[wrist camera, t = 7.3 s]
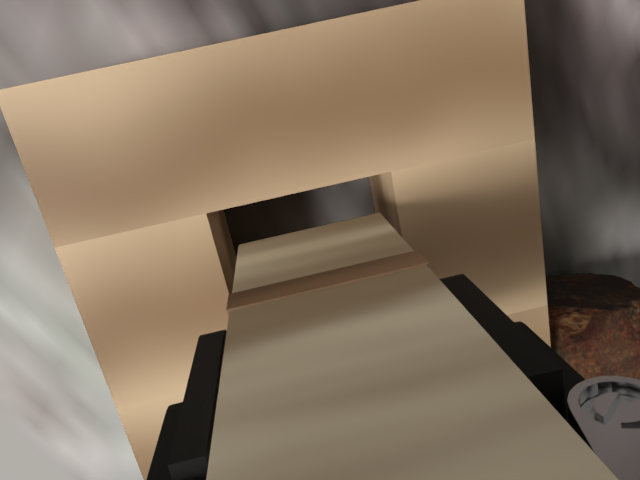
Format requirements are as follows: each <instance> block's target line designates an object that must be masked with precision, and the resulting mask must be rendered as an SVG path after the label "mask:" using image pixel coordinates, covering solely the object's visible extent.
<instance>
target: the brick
mask: <svg viewBox="0 0 640 480" xmlns="http://www.w3.org/2000/svg"><path fill="white" fill-rule="evenodd" d="M545 278H546V291H547V304H548V317H549V330H550V343H551V348H552V349H553V350H554V351H555V352H556V353H557V354H558V355H559V356H560V357H562V358H563V359H564V360H565V361H566V362H567V363H568V364H569V365H570V366H571V367H572V368H573V369H574V370H576V371H577V372H578V373H579V374H580V375H581V376H582V377H583V378H584V379H585V380H586V379H590V378H595V377H599V376H622V377H629V378H634V379H638V380H640V288H639V287H636V286H635V285H633V283H632V282H630V281H628V280H625V279H623V278H620V277H617V276H613V275H602V274H592V273H588V274H570V275H559V276H548V277H545Z"/></svg>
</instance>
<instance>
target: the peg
mask: <svg viewBox="0 0 640 480" xmlns="http://www.w3.org/2000/svg"><path fill="white" fill-rule="evenodd" d="M226 311H227V314H228V325H227V333H226V340H225V347H224V354H223V362H222V369H221V376H220V383H219V390H218V398H217V405H216V412H215V419H214V427H213V434H212V441H211V448H210V456H209V463H208V470H207V477H206V480H618V479H617V478H616V476H615V475H614V474H613V473H612V472H611V471H610V470H609V469H608V467H607V466H606V465H605V464H604V463H603V462H602V461H601V460H600V459H599V457H598V456H597V455H596V454H595V453H594V452H593V451H592V450H591V448H590V447H589V446H588V445H587V444H586V443H585V442H584V441H583V439H582V438H581V437H580V436H579V435H578V434H577V433H576V432H575V431H574V429H573V428H572V427H571V426H570V425H569V424H568V423H567V422H566V420H565V419H564V418H563V417H562V416H561V415H560V414H559V413H558V412H557V410H556V409H555V408H554V407H553V406H552V405H551V404H550V403H549V401H548V400H547V399H546V398H545V397H544V396H543V395H542V394H541V392H540V391H539V390H538V389H537V388H536V387H535V386H534V385H533V384H532V382H531V381H530V380H529V379H528V378H527V377H526V376H525V375H524V373H523V372H522V371H521V370H520V369H519V368H518V367H517V366H516V364H515V363H514V362H513V361H512V360H511V359H510V358H509V357H508V356H507V354H506V353H505V352H504V351H503V350H502V349H501V348H500V347H499V345H498V344H497V343H496V342H495V341H494V340H493V339H492V338H491V336H490V335H489V334H488V333H487V332H486V331H485V330H484V329H483V328H482V326H481V325H480V324H479V323H478V322H477V321H476V320H475V319H474V317H473V316H472V315H471V314H470V313H469V312H468V311H467V310H466V308H465V307H464V306H463V305H462V304H461V303H460V302H459V301H458V300H457V298H456V297H455V296H454V295H453V294H452V293H451V292H450V291H449V289H448V288H447V287H446V286H445V285H444V284H443V283H442V282H441V281H440V279H439V278H438V277H437V276H436V275H435V274H434V273H433V272H432V270H431V269H430V266H429V262H428V261H427V260H426V259H425V258H424V256H423V255H422V254H421V253H420V252H419V251H418V250H415V251H414V250H413V249H412V248H411V247H410V246H409V245H408V244H407V242H406V241H405V240H404V239H403V238H402V237H401V236H400V235H399V233H398V232H397V231H396V230H395V229H394V228H393V227H392V226H391V225H390V223H389V222H388V221H387V220H386V219H385V218H384V217H383V216H382V214H381V213H380V212H379V213H375V214H371V215H366V216H362V217H357V218H353V219H349V220H344V221H340V222H336V223H331V224H327V225H323V226H318V227H314V228H309V229H305V230H301V231H296V232H292V233H288V234H283V235H279V236H275V237H270V238H266V239H262V240H257V241H253V242H248V243H244V244H240V245H239V246H238V253H237V260H236V268H235V275H234V282H233V289H232V293H231V294H229V295H228V302H227V308H226Z"/></svg>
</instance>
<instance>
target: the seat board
mask: <svg viewBox="0 0 640 480" xmlns="http://www.w3.org/2000/svg"><path fill="white" fill-rule="evenodd" d="M0 107H1V109H2V112H3V115H4V117H5V120H6V122H7V125H8V128H9V130H10V133H11V135H12V138H13V141H14V143H15V146H16V148H17V151H18V154H19V156H20V159H21V161H22V164H23V167H24V169H25V172H26V174H27V177H28V180H29V182H30V185H31V187H32V190H33V193H34V195H35V198H36V200H37V203H38V206H39V208H40V211H41V213H42V216H43V219H44V221H45V224H46V226H47V229H48V232H49V234H50V237H51V239H52V242H53V245H54V247H55V250H56V252H57V255H58V258H59V260H60V263H61V265H62V268H63V271H64V273H65V276H66V278H67V281H68V284H69V286H70V289H71V291H72V294H73V297H74V299H75V302H76V304H77V307H78V310H79V312H80V315H81V317H82V320H83V323H84V325H85V328H86V330H87V333H88V336H89V338H90V341H91V343H92V346H93V349H94V351H95V354H96V356H97V359H98V362H99V364H100V367H101V369H102V372H103V375H104V377H105V380H106V382H107V385H108V388H109V390H110V393H111V395H112V398H113V401H114V403H115V406H116V408H117V411H118V414H119V416H120V419H121V421H122V424H123V427H124V429H125V432H126V434H127V437H128V440H129V442H130V445H131V447H132V450H133V453H134V455H135V458H136V460H137V463H138V466H139V468H140V471H141V473H142V476H143V479H144V480H146V479H147V476H148V472H149V469H150V465H151V462H152V459H153V455H154V452H155V448H156V445H157V441H158V438H159V434H160V431H161V427H162V424H163V420H164V417H165V414H166V410H167V408H168V406H170V405H172V404H176V403H180V402H183V399H184V395H185V391H186V387H187V383H188V379H189V375H190V371H191V366H192V362H193V358H194V354H195V350H196V346H197V342H198V338H199V336H200V335H204V334H208V333H212V332H216V331H221V330H226V331H227V325H228V314H227V311H226V308H227V302H228V295H229V294H231V293H232V289H233V282H234V275H235V268H236V260H237V257H236V254H235V250H234V246H233V243H232V239H231V235H230V232H229V228H228V224H227V220H226V217H225V213H224V209H228V208H232V207H237V206H241V205H246V204H250V203H254V202H259V201H263V200H268V199H272V198H277V197H281V196H285V195H290V194H294V193H299V192H303V191H307V190H312V189H316V188H321V187H325V186H330V185H334V184H338V183H343V182H347V181H352V180H356V179H360V178H365V177H369V178H370V184H371V189H372V195H373V201H374V206H375V212H376V213H379V212H380V213H381V214H382V216H383V217H384V218H385V219H386V220H387V221H388V222H389V223H390V225H391V226H392V227H393V228H394V229H395V230H396V231H397V232H398V233H399V235H400V236H401V237H402V238H403V239H404V240H405V241H406V242H407V244H408V245H409V246H410V247H411V248H412V249H413V250H414V251H415V250H418V251H419V252H420V253H421V254H422V255H423V256H424V258H425V259H426V260H427V261H428V262H429V266H430V269H431V270H432V272H433V273H434V274H435V275H436V276H437V277H438V278H439V279H442V278H446V277H450V276H454V275H459V274H464V275H465V276H466V277H467V278H469V279H470V280H471V281H472V282H473V283H474V284H475V285H476V286H477V287H478V288H479V289H480V290H481V291H482V292H483V293H484V294H485V295H486V296H487V297H488V298H489V299H490V300H491V301H493V302H494V303H495V304H496V305H497V306H498V307H499V308H500V309H501V310H502V311H503V312H504V313H505V314H506V315H507V316H508V317H509V318H510V319H511V320H512V321H513V322H519V321H521V322H523V323H524V324H526V325H527V326H528V327H529V328H530V329H531V330H532V331H533V332H535V333H536V334H537V335H538V336H539V337H540V338H541V339H542V340H543V341H544V342H545V343H546V344H547V345H549V346H550V347H551V343H550V330H549V317H548V304H547V291H546V278H545V265H544V252H543V239H542V226H541V213H540V200H539V187H538V174H537V161H536V148H535V135H534V122H533V109H532V96H531V83H530V70H529V57H528V44H527V31H526V18H525V5H524V0H419V1H415V2H410V3H405V4H401V5H396V6H391V7H386V8H382V9H377V10H372V11H368V12H363V13H358V14H354V15H349V16H344V17H340V18H335V19H330V20H325V21H321V22H316V23H311V24H307V25H302V26H297V27H293V28H288V29H283V30H279V31H274V32H269V33H264V34H260V35H255V36H250V37H246V38H241V39H236V40H232V41H227V42H222V43H217V44H213V45H208V46H203V47H199V48H194V49H189V50H185V51H180V52H175V53H171V54H166V55H161V56H156V57H152V58H147V59H142V60H138V61H133V62H128V63H124V64H119V65H114V66H110V67H105V68H100V69H95V70H91V71H86V72H81V73H77V74H72V75H67V76H63V77H58V78H53V79H48V80H44V81H39V82H34V83H30V84H25V85H20V86H16V87H11V88H6V89H2V90H0Z"/></svg>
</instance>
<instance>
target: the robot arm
mask: <svg viewBox="0 0 640 480" xmlns="http://www.w3.org/2000/svg"><path fill="white" fill-rule="evenodd" d="M440 281H441V282H442V283H443V284H444V285H445V286H446V287H447V288H448V289H449V291H450V292H451V293H452V294H453V295H454V296H455V297H456V298H457V300H458V301H459V302H460V303H461V304H462V305H463V306H464V307H465V308H466V310H467V311H468V312H469V313H470V314H471V315H472V316H473V317H474V319H475V320H476V321H477V322H478V323H479V324H480V325H481V326H482V328H483V329H484V330H485V331H486V332H487V333H488V334H489V335H490V336H491V338H492V339H493V340H494V341H495V342H496V343H497V344H498V345H499V347H500V348H501V349H502V350H503V351H504V352H505V353H506V354H507V356H508V357H509V358H510V359H511V360H512V361H513V362H514V363H515V364H516V366H517V367H518V368H519V369H520V370H521V371H522V372H523V373H524V375H525V376H526V377H527V378H528V379H529V380H530V381H531V382H532V384H533V385H534V386H535V387H536V388H537V389H538V390H539V391H540V392H541V394H542V395H543V396H544V397H545V398H546V399H547V400H548V401H549V403H550V404H551V405H552V406H553V407H554V408H555V409H556V410H557V412H558V413H559V414H560V415H561V416H562V417H563V418H564V419H565V420H566V422H567V423H568V424H569V425H570V426H571V427H572V428H573V429H574V431H575V432H576V433H577V434H578V435H579V436H580V437H581V438H582V439H583V441H584V442H585V443H586V444H587V445H588V446H589V447H590V448H591V450H592V451H593V452H594V453H595V454H596V455H597V456H598V457H599V459H600V460H601V461H602V462H603V463H604V464H605V465H606V466H607V467H608V469H609V470H610V471H611V472H612V473H613V474H614V475H615V476H616V478H617V479H618V480H640V380H638V379H634V378H629V377H622V376H599V377H595V378H590V379H586V380H585V379H584V378H583V377H582V376H581V375H580V374H579V373H578V372H577V371H576V370H574V369H573V368H572V367H571V366H570V365H569V364H568V363H567V362H566V361H565V360H564V359H563V358H562V357H560V356H559V355H558V354H557V353H556V352H555V351H554V350H553V349H552V348H551V347H550V346H549V345H547V344H546V343H545V342H544V341H543V340H542V339H541V338H540V337H539V336H538V335H537V334H536V333H535V332H533V331H532V330H531V329H530V328H529V327H528V326H527V325H526V324H524V323H523V322H521V321H519V322H513V321H512V320H511V319H510V318H509V317H508V316H507V315H506V314H505V313H504V312H503V311H502V310H501V309H500V308H499V307H498V306H497V305H496V304H495V303H494V302H493V301H491V300H490V299H489V298H488V297H487V296H486V295H485V294H484V293H483V292H482V291H481V290H480V289H479V288H478V287H477V286H476V285H475V284H474V283H473V282H472V281H471V280H470V279H469V278H467V277H466V276H465V275H464V274H459V275H454V276H450V277H446V278H442V279H440ZM226 333H227V331H226V330H221V331H216V332H212V333H208V334H204V335H200V336H199V338H198V342H197V346H196V350H195V354H194V358H193V362H192V366H191V371H190V375H189V379H188V383H187V387H186V391H185V395H184V399H183V402H180V403H176V404H172V405H170V406H168V408H167V410H166V414H165V417H164V420H163V424H162V427H161V431H160V434H159V438H158V441H157V445H156V448H155V452H154V455H153V459H152V462H151V465H150V469H149V472H148V476H147V479H146V480H206V477H207V470H208V463H209V456H210V448H211V441H212V434H213V427H214V419H215V412H216V405H217V398H218V390H219V383H220V376H221V369H222V362H223V354H224V347H225V340H226Z"/></svg>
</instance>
